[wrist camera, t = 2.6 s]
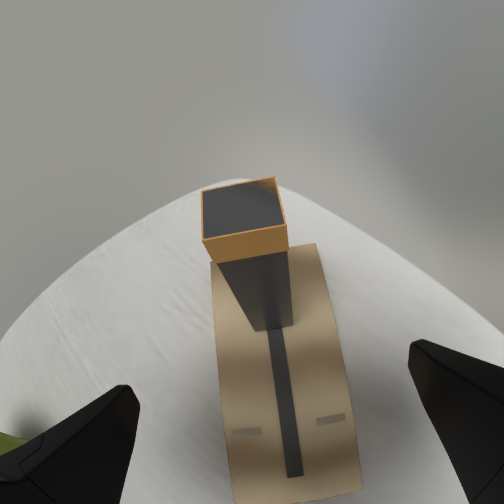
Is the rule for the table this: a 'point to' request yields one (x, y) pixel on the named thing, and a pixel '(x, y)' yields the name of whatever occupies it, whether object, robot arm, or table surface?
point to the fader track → (286, 395)
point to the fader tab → (250, 248)
